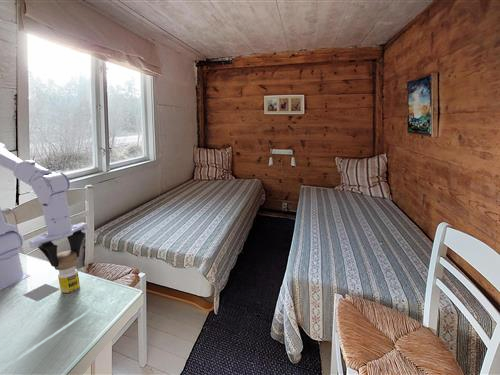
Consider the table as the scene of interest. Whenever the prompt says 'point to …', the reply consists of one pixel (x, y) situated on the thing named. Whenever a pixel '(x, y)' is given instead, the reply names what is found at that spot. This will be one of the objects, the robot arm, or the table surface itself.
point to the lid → (66, 260)
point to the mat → (41, 292)
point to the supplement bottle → (69, 281)
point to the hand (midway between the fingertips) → (65, 261)
